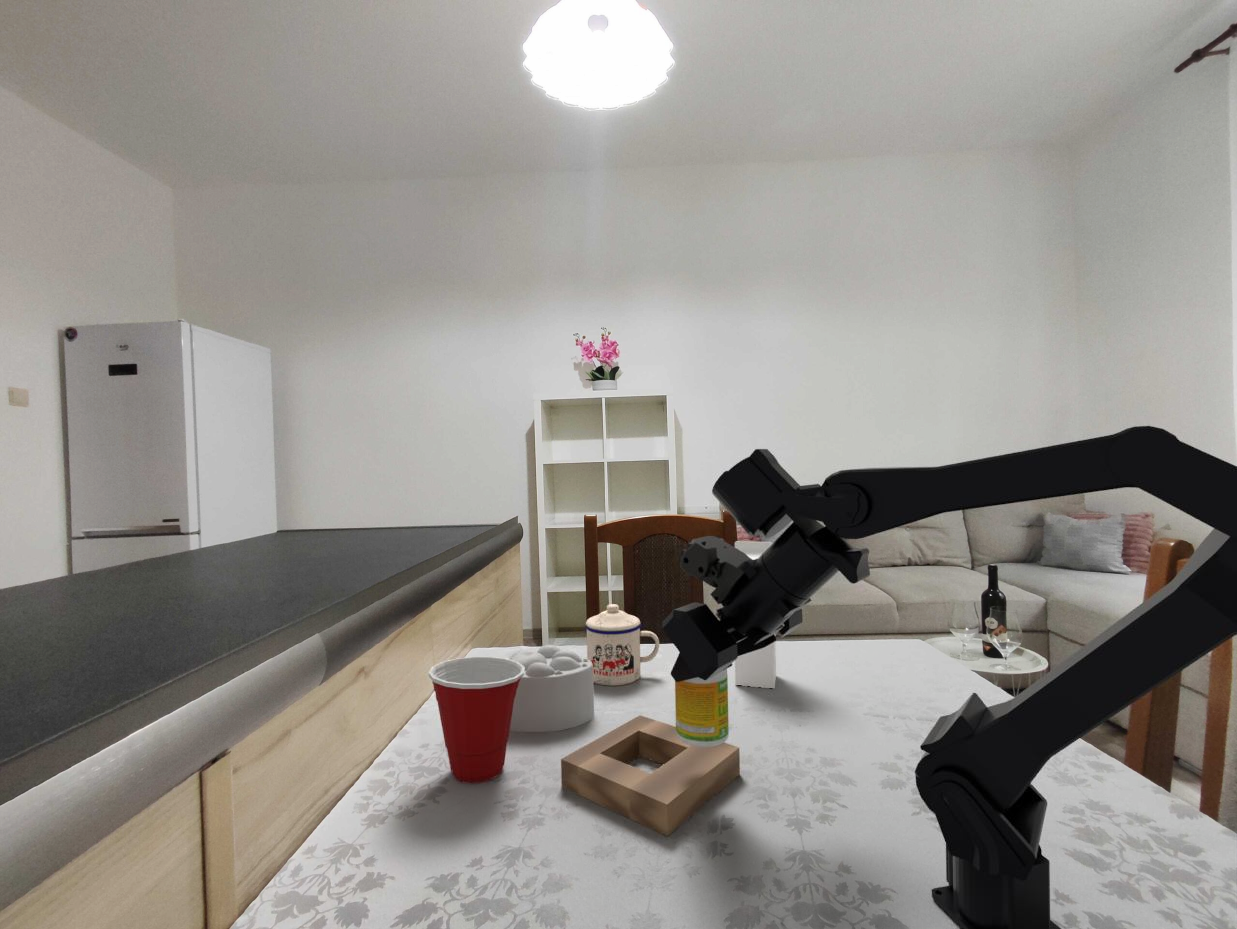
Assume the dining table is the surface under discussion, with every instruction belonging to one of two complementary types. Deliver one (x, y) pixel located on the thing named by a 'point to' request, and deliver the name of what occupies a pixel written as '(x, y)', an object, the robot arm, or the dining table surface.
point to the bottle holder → (639, 793)
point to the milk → (762, 662)
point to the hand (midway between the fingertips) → (689, 669)
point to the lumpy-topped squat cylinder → (552, 690)
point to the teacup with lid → (616, 646)
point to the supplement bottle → (702, 710)
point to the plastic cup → (476, 713)
